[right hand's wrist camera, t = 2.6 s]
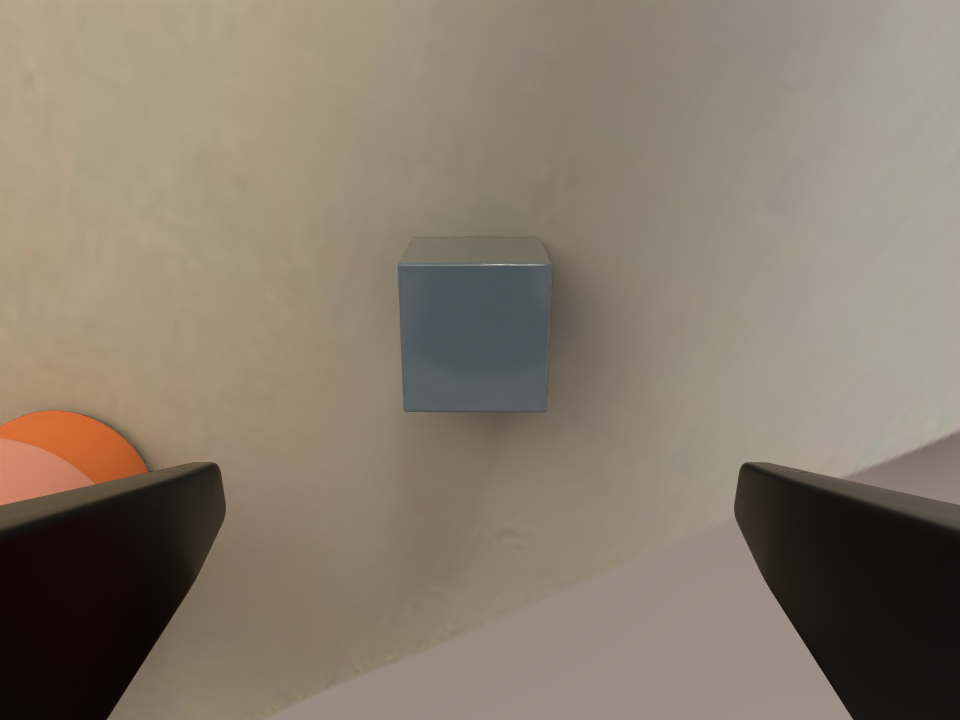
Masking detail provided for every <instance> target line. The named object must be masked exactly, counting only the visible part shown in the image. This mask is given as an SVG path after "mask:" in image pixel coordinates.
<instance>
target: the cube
mask: <svg viewBox="0 0 960 720" xmlns="http://www.w3.org/2000/svg"><path fill="white" fill-rule="evenodd" d="M552 277H553V265H552V263H551V261H550V259H549V257H548V255H547V253H546V251H545V249H544V247H543V245H542V243H541V241H540V238H506V237H414V238H413V239H412V241H411V243H410V244H409V246H408V248H407V250H406V251H405V253H404V255H403V257H402V258H401V260H400V262H399V264H398V283H399V308H400V333H401V357H402V382H403V407H404V411H406V412H546V410H547V393H548V369H549V346H550V323H551V300H552Z"/></svg>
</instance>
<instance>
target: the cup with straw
mask: <svg viewBox="0 0 960 720" xmlns="http://www.w3.org/2000/svg"><path fill="white" fill-rule="evenodd" d="M144 473H148V470H147V468H146V466H145V464H144V462H143V460H142V459H141V457H140V456H139V454H138V453H137V452H136V450H135V449H134V448H133V447H132V446H131V445H130V444H129V443H128V441H127V440H125V439H124V438H123V437H122V436H121V435H120V434H118V433H117V432H116V431H114V430H113V429H111V428H110V427H108V426H106V425H105V424H103V423H101V422H99V421H97V420H95V419H92V418H90V417H87V416H84V415H81V414H77V413H72V412H66V411H41V412H35V413H30V414H27V415H24V416H21V417H19V418H17V419H14V420H12V421H10V422H8V423H6V424H4V425H1V426H0V505H5V504H9V503H14V502H18V501H23V500H27V499H32V498H36V497H41V496H45V495H50V494H54V493H59V492H63V491H67V490H72V489H76V488H81V487H85V486H90V485H94V484H99V483H103V482H108V481H112V480H117V479H121V478H126V477H130V476H135V475H139V474H144Z"/></svg>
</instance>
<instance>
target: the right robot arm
mask: <svg viewBox="0 0 960 720" xmlns="http://www.w3.org/2000/svg"><path fill="white" fill-rule="evenodd" d="M225 512H226V503H225V497H224V490H223V484H222V477H221V471H220V468H219V466H218V465H217V464H216V463H214V462H194V463H189V464H184V465H180V466H175V467H171V468H166V469H162V470H157V471H153V472H148V473H144V474H139V475H135V476H130V477H126V478H121V479H117V480H112V481H108V482H103V483H99V484H94V485H90V486H85V487H81V488H76V489H72V490H67V491H63V492H59V493H54V494H50V495H45V496H41V497H36V498H32V499H27V500H23V501H18V502H14V503H9V504H5V505H0V720H107V718H108V717H109V715H110V714H111V712H112V711H113V709H114V707H115V706H116V704H117V703H118V701H119V700H120V698H121V696H122V695H123V693H124V692H125V690H126V689H127V687H128V686H129V684H130V682H131V681H132V679H133V678H134V676H135V675H136V673H137V671H138V670H139V668H140V667H141V665H142V664H143V662H144V660H145V659H146V657H147V656H148V654H149V653H150V651H151V649H152V648H153V646H154V645H155V643H156V642H157V640H158V638H159V637H160V635H161V634H162V632H163V631H164V629H165V628H166V626H167V624H168V623H169V621H170V620H171V618H172V617H173V615H174V613H175V612H176V610H177V609H178V607H179V606H180V604H181V602H182V601H183V599H184V598H185V596H186V595H187V593H188V591H189V590H190V588H191V586H192V585H193V583H194V581H195V580H196V578H197V576H198V574H199V572H200V570H201V568H202V566H203V563H204V561H205V559H206V557H207V555H208V553H209V551H210V549H211V546H212V544H213V542H214V540H215V538H216V536H217V534H218V532H219V529H220V527H221V525H222V523H223V521H224V517H225ZM734 512H735V517H736V521H737V523H738V525H739V527H740V529H741V532H742V534H743V536H744V538H745V540H746V542H747V544H748V546H749V548H750V551H751V553H752V555H753V557H754V559H755V561H756V563H757V565H758V568H759V570H760V572H761V574H762V576H763V578H764V580H765V581H766V583H767V585H768V586H769V588H770V590H771V591H772V593H773V595H774V596H775V598H776V599H777V601H778V602H779V604H780V605H781V607H782V609H783V610H784V612H785V613H786V615H787V617H788V618H789V620H790V621H791V623H792V624H793V626H794V627H795V629H796V631H797V632H798V634H799V635H800V637H801V638H802V640H803V641H804V643H805V645H806V646H807V648H808V649H809V651H810V653H811V654H812V656H813V657H814V659H815V660H816V662H817V663H818V665H819V667H820V668H821V670H822V671H823V673H824V674H825V676H826V678H827V679H828V681H829V682H830V684H831V685H832V687H833V689H834V690H835V692H836V693H837V695H838V696H839V698H840V699H841V701H842V703H843V704H844V706H845V707H846V709H847V711H848V712H849V714H850V715H851V717H852V718H853V720H960V505H955V504H951V503H947V502H942V501H938V500H933V499H929V498H924V497H920V496H915V495H910V494H906V493H902V492H897V491H893V490H888V489H884V488H879V487H875V486H870V485H865V484H861V483H857V482H852V481H848V480H843V479H839V478H834V477H830V476H825V475H821V474H816V473H812V472H807V471H803V470H798V469H794V468H789V467H785V466H780V465H776V464H771V463H766V462H746V463H744V464H743V465H742V466H741V468H740V471H739V477H738V484H737V490H736V497H735V503H734Z"/></svg>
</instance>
